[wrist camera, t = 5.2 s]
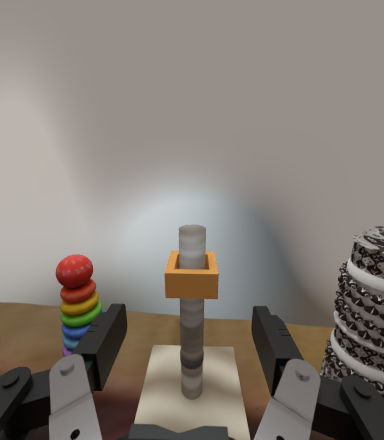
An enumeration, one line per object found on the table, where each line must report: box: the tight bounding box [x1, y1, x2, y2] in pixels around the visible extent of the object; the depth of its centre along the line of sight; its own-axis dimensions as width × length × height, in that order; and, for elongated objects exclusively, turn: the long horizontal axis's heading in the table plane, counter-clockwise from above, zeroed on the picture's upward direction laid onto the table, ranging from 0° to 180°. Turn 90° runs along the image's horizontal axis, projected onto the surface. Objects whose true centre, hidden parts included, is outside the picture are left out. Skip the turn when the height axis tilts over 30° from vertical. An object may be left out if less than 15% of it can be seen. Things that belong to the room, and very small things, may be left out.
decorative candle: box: [320, 227, 384, 398], centre depth 27 cm, size 9×9×25 cm
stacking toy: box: [56, 255, 105, 358], centre depth 34 cm, size 8×8×19 cm
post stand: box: [134, 225, 250, 440], centre depth 26 cm, size 14×14×26 cm
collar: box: [165, 251, 219, 299], centre depth 25 cm, size 6×6×3 cm
